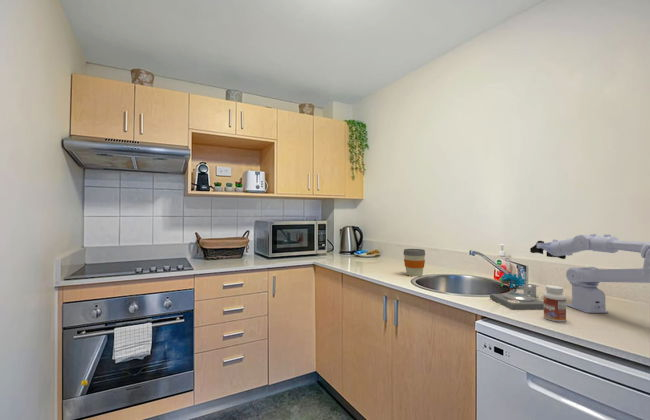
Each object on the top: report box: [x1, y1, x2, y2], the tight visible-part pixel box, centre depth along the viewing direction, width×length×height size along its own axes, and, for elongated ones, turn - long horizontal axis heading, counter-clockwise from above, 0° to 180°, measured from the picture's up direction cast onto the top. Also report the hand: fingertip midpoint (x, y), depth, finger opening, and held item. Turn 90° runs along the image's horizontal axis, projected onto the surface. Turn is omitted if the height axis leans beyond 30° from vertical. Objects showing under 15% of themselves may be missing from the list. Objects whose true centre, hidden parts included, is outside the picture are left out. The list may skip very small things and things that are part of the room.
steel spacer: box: [523, 283, 537, 299], centre depth 131 cm, size 5×5×5 cm
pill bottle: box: [543, 284, 567, 323], centre depth 103 cm, size 6×6×11 cm
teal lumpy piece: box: [498, 272, 526, 289], centre depth 147 cm, size 11×6×10 cm
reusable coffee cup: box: [403, 248, 426, 277], centre depth 179 cm, size 13×13×15 cm
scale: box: [489, 292, 544, 311], centre depth 121 cm, size 15×14×3 cm
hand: (539, 252), depth 135 cm, fingers open, 7 cm apart
